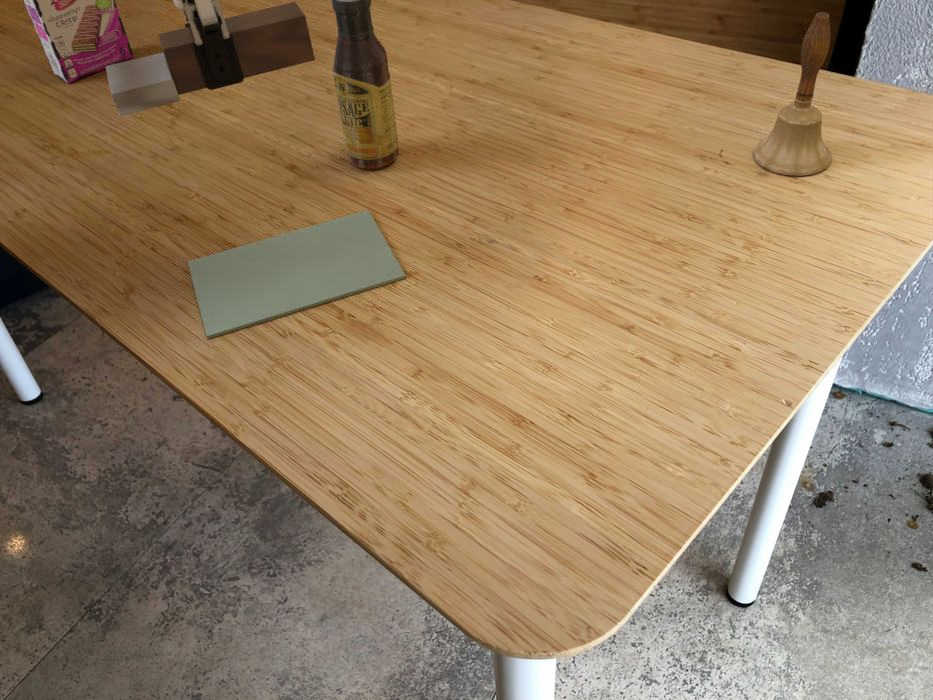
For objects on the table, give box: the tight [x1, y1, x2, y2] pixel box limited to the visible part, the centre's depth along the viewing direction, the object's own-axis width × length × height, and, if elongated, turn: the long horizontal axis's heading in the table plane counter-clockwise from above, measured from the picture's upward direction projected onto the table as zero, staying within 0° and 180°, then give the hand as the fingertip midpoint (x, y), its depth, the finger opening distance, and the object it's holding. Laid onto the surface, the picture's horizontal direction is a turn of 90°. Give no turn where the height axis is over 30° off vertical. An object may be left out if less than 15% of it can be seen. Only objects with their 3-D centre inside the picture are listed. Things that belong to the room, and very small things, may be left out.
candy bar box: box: [23, 0, 135, 84], centre depth 123 cm, size 11×5×16 cm, turn 134°
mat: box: [187, 209, 407, 340], centre depth 87 cm, size 20×13×1 cm, turn 112°
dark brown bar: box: [105, 1, 316, 117], centre depth 72 cm, size 17×6×4 cm, turn 112°
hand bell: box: [752, 11, 833, 177], centre depth 90 cm, size 8×8×16 cm
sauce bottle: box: [331, 0, 399, 171], centre depth 95 cm, size 7×6×20 cm
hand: (220, 72), depth 74 cm, fingers closed on dark brown bar, 3 cm apart
